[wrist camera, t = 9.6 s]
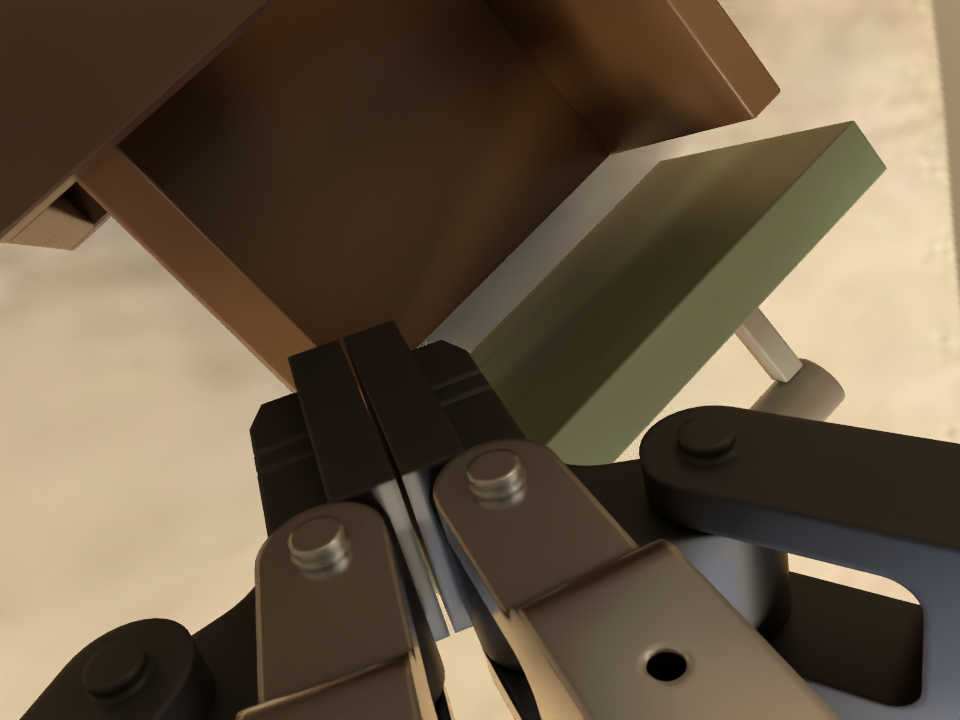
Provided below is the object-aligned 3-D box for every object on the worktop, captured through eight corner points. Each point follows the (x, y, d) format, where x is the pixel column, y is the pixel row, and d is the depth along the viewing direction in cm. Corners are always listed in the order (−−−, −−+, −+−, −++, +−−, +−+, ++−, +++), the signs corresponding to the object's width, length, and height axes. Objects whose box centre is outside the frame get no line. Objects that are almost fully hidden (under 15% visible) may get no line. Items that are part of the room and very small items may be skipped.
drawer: (787, 322, 26) (1011, 345, 19) (503, 630, 24) (635, 779, 17) (328, -264, 20) (403, -534, 13) (-75, 75, 19) (-226, -35, 12)
